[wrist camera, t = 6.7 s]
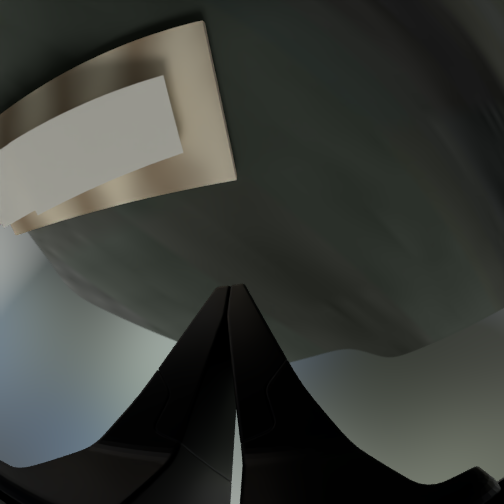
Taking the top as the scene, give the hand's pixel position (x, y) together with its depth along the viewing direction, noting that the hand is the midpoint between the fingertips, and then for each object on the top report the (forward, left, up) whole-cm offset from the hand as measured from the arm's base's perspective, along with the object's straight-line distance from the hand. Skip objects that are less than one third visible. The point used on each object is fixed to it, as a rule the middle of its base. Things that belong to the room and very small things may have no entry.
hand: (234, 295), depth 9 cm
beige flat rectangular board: (+12, -4, -13) cm, 18 cm away
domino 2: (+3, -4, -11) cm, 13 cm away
